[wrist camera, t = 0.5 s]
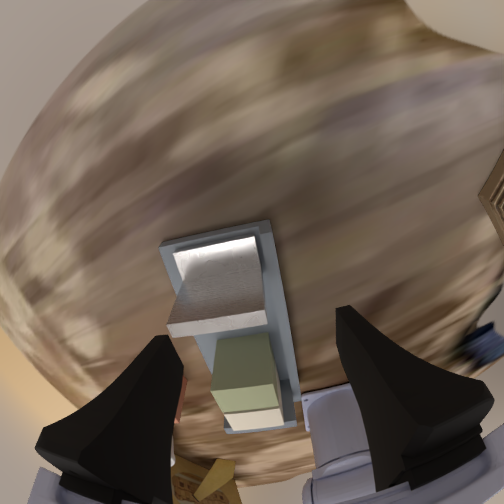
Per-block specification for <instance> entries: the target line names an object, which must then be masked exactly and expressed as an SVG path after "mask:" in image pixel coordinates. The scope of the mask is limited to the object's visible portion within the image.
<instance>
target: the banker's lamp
mask: <svg viewBox="0 0 504 504" xmlns="http://www.w3.org/2000/svg"><path fill="white" fill-rule="evenodd" d="M478 197H479V199H480V201H481V202H482V204H483V206H484V208H485V210H486V211H487V213H488V215H489V217H490V219H491V221H492V223H493V225H494V227H495V229H496V231H497V233H498V235H499V237H500V239H501V241H502V244H503V245H504V150H503V152H502V154H501V156H500V158H499V160H498V162H497V164H496V166H495V168H494V169H493V171H492V173H491V175H490V177H489V178H488V180H487V182H486V184H485V185H484V187H483V189H482V190H481V192H480V194H479V195H478Z"/></svg>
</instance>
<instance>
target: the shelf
mask: <svg viewBox="0 0 504 504" xmlns="http://www.w3.org/2000/svg"><path fill="white" fill-rule="evenodd" d="M249 234H254V236H255V241H256V245H257V250H258V254H259V259H260V263H261V268H262V272H263V279H264V290H265V300H266V310H267V321H268V324H265V325H259V326H254V327H248V328H241V329H235V330H228V331H222V332H214V333H207V334H200V335H194V338H195V340H196V342H197V344H198V346H199V349H200V351H201V353H202V355H203V357H204V359H205V361H206V363H207V366H208V368H209V370H210V372H211V374H213V366H214V358H215V350H216V342H217V340H221V339H228V338H235V337H242V336H248V335H254V334H260V333H266V332H268V333H269V337H270V342H271V346H272V350H273V354H274V359H275V362H276V367H277V371H278V375H279V380H280V389H281V398H282V407H283V416H284V425H282V426H276V427H268V428H260V429H250V430H239V431H233V429H232V427H231V426H230V424H229V422H228V421H227V419H226V417H225V416H224V430H225V431H226V433H227V434H236V433H248V432H258V431H267V430H275V429H282V428H288V427H294V426H297V422H296V415H295V408H294V402H297V401H302V398H301V392H300V386H299V379H298V373H297V367H296V361H295V355H294V349H293V343H292V337H291V331H290V325H289V319H288V314H287V308H286V302H285V297H284V291H283V286H282V280H281V275H280V269H279V264H278V259H277V254H276V248H275V243H274V238H273V233H272V228H271V224H270V220H269V219H268V220H263V221H258V222H253V223H248V224H243V225H238V226H233V227H229V228H224V229H219V230H215V231H210V232H205V233H201V234H196V235H192V236H187V237H183V238H178V239H174V240H169V241H165V242H162V243H161V245H160V246H159V247H158V248H159V251H160V253H161V256H162V259H163V262H164V264H165V267H166V270H167V272H168V275H169V278H170V280H171V283H172V285H173V288H174V290H175V293H176V295H178V292H179V290H180V287H181V285H182V282H183V280H182V277H181V275H180V272H179V269H178V266H177V264H176V261H175V258H174V255H173V253H174V251H175V250H177V249H182V248H186V247H191V246H196V245H200V244H205V243H210V242H215V241H220V240H224V239H229V238H234V237H239V236H244V235H249ZM293 400H294V401H293Z"/></svg>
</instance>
